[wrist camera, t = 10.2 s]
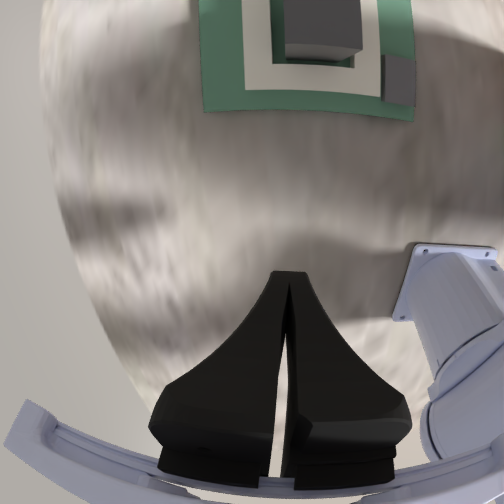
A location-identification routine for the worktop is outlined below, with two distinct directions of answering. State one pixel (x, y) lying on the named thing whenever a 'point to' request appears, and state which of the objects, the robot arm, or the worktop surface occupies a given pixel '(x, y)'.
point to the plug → (322, 29)
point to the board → (305, 62)
